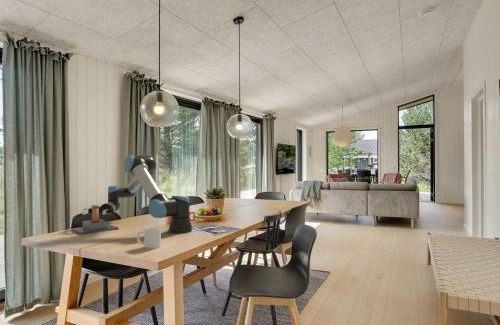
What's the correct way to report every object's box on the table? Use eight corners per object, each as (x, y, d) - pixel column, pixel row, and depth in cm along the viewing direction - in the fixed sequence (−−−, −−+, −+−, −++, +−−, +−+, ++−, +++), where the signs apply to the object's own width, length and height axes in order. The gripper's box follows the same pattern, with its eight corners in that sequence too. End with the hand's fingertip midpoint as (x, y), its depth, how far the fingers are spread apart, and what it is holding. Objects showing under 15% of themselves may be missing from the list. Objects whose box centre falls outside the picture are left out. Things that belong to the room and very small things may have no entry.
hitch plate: (108, 225, 231) (108, 217, 231) (118, 229, 219) (118, 220, 219) (71, 230, 215) (71, 221, 215) (80, 234, 202) (80, 225, 202)
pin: (97, 227, 220) (98, 205, 221) (100, 227, 217) (100, 205, 217) (90, 227, 217) (90, 205, 217) (92, 228, 213) (92, 206, 214)
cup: (161, 248, 169) (161, 228, 169) (137, 250, 165) (137, 230, 165) (159, 244, 177) (159, 225, 177) (136, 246, 172) (136, 227, 172)
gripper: (124, 213, 234) (111, 218, 213) (90, 213, 235) (74, 218, 214) (124, 203, 235) (111, 206, 213) (90, 203, 235) (74, 206, 214)
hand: (92, 212), depth 213 cm, fingers open, 13 cm apart
